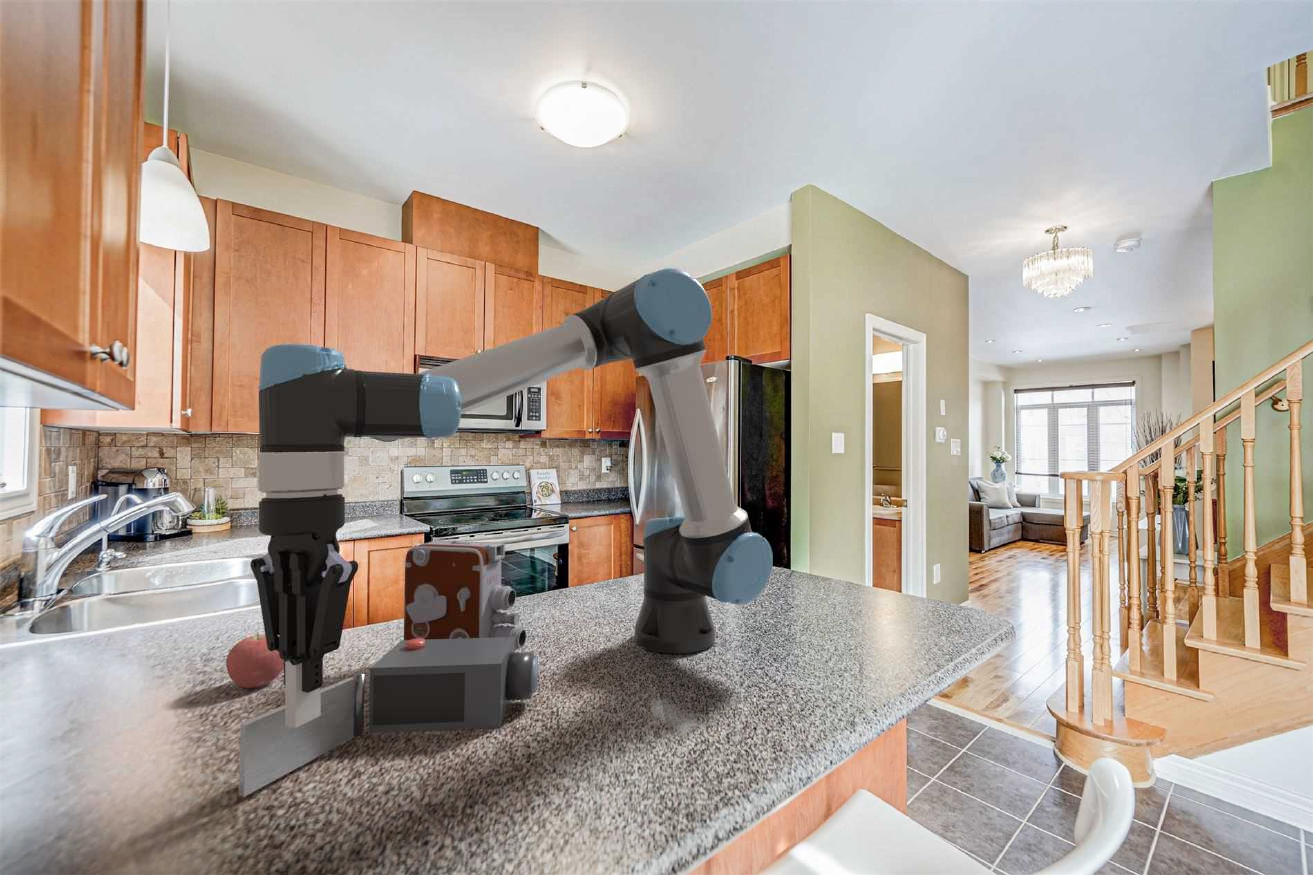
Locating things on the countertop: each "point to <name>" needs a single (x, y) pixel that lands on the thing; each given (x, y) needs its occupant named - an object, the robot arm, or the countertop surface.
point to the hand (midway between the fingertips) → (303, 720)
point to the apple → (253, 662)
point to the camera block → (448, 684)
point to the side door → (299, 735)
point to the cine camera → (458, 593)
